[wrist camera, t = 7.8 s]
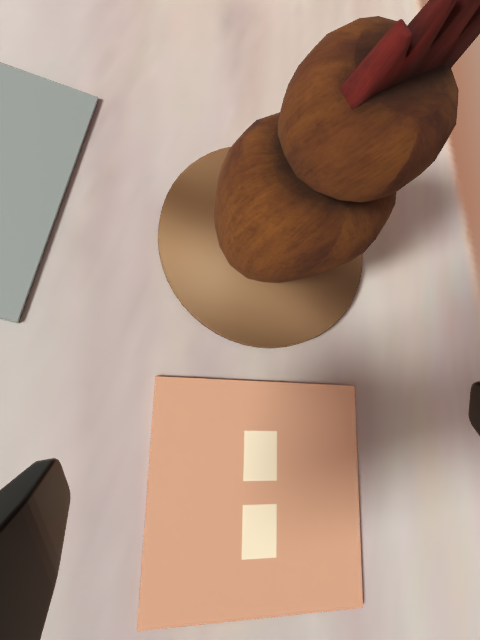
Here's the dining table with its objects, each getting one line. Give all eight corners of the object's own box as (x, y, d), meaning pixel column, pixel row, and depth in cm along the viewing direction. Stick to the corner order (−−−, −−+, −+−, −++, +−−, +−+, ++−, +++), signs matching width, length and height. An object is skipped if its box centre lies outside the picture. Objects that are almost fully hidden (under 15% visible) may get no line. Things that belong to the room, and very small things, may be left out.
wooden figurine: (311, 188, 22) (626, -206, 8) (337, 288, 21) (746, 37, 7) (190, 195, 20) (327, -308, 6) (212, 305, 19) (435, 8, 5)
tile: (360, 605, 19) (363, 607, 18) (137, 628, 16) (137, 631, 16) (352, 386, 21) (354, 385, 21) (155, 376, 18) (155, 376, 18)
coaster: (344, 370, 21) (349, 369, 20) (132, 316, 19) (132, 314, 18) (367, 188, 24) (372, 184, 23) (186, 123, 22) (187, 116, 21)
